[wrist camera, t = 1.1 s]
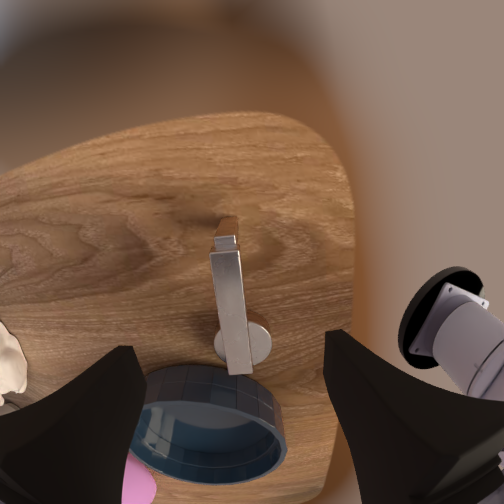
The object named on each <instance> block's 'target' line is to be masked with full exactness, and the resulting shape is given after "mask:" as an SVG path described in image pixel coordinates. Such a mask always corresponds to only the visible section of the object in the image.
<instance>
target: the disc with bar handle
mask: <svg viewBox="0 0 504 504" xmlns="http://www.w3.org/2000/svg"><path fill="white" fill-rule="evenodd" d="M237 242H238V219H237V217H236V216H234V217H224V218H221V221H220V223H219V226H218V229H217V231H216V234H215V236H214V244H215V246H212V247H211V250H210V253H209V257H210V264H211V271H212V278H213V285H214V291H215V298H216V304H217V310H218V317H219V322H218V324H217V326H216V330H215V337H214V349H215V351H216V353H217V355H218V356H219V357H220V359H222V360H223V361H224V362H226V363H227V368H228V373H229V375H239V374H252V373H253V366H254V365H256V364H259V363H260V362H262V361H263V360H265V359H266V358H267V356H268V355H269V353H270V352H271V349H272V338H271V332H270V327H269V324H268V322H267V321H266V320H265V319H264V318H263V317H262V316H261V315H259V314H258V313H256V312H253V311H249V310H247V308H246V299H245V290H244V281H243V272H242V262H241V253H240V245H239V244H237Z"/></svg>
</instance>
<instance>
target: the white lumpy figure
mask: <svg viewBox="0 0 504 504" xmlns="http://www.w3.org/2000/svg"><path fill="white" fill-rule="evenodd" d="M26 376H27V361H26V359H25V357H24V355H23V353H22V350H21V347H20V345H19V342H18V340H17V339H16V338H15V337H14V336H13V335H11V334H9V333H8V331H7V329H6V328H5V326H4V325H3V324H2V323H1V322H0V406H2V405H3V404H4V398H3V397H2V394H6V393H8V392H9V391H15V392H16V393H23V392H24V391H25V390H26V386H27V377H26Z"/></svg>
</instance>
